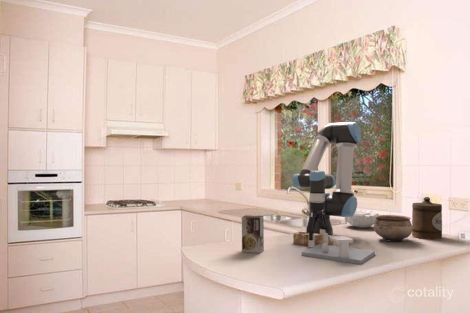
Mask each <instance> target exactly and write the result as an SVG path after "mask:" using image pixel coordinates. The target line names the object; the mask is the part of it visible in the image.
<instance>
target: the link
mask: <svg viewBox="0 0 470 313" xmlns="http://www.w3.org/2000/svg"><path fill="white" fill-rule="evenodd" d="M314 234H315V233H314ZM330 237H334V235H333V234H330V235H328V245H331V246H334V241H332V240H330ZM292 241H293V244H295V245H296V244H298V245H303V246H304V245H305V246H307V245H308V246H309V233H307V232H306V231H296V232H293V240H292ZM323 243H324V235H323V234H315V246H316V245H319V244H323Z"/></svg>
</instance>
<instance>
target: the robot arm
mask: <svg viewBox="0 0 470 313" xmlns="http://www.w3.org/2000/svg"><path fill="white" fill-rule="evenodd" d="M361 132H362V131H361V128H360V125H359V124H358V123H357V122H356V121H355V122H354V121H348V122H347V121H346V122H331V123H327V124H326V125H324V126H323V127H322V128H321V129H320V130H319V131H318V132H317V133H316V134H315V136H314V138H313V144H312V147H311V149H310V151H309V153H308V154H307V157H306V159H305V160H304V161H305V162H304V164H303V165H302V167H301V170H300V172H299V173H295V174H293V176H292V179H291V182H292V186H294V187H295V188H297V189H299V188H300V189H309V198H308V212H309V213H308V221H307V226H306V229H305V232H307V233H309V245H308V248H312V247H314V246H315V234H323V235H324V233H328V235H333V234H334V229H333V226H332V222H331V220H330V218H331V217H341V218H345V217H352V216H353V215H354V213H355V212H356V211H357V208H358V198H357V197H356V196H355V193H354V192H353V191H352V187H353V186H352V184H353V182H352V181H353V168H354V167H353V166H354V151H355V150H354V149H355V148H356V147H357V146H358V143H360V142H361V140H362V133H361ZM331 144H335V146H336V147H337V148H338V149H337V160H336V161H337V162H336V163H337V164H336V176H334V175H332V174H329V173H326V172H325V171H324V170H318V167H319V165H320V163H321V161H322V159H323V156H324V154H325V152H326V149H327V148H329V147H330V145H331ZM334 187H335V188H334ZM332 188H334V190H333V191H332V194H331V193H330V192H326V190H330V189H332ZM314 233H315V234H314Z"/></svg>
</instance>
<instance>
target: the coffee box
mask: <svg viewBox="0 0 470 313" xmlns="http://www.w3.org/2000/svg"><path fill="white" fill-rule="evenodd" d="M264 226H265V225H264V215H251V214H250V215H249V214H247V215H246V214H245V215H244V216H241V253H242V252H243V253H256V254H257V253H258V254H261V253H263V252H264V251H265V244H264V243H265V242H264V240H265V239H264V234H265V233H264V232H265V231H264Z"/></svg>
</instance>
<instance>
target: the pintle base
mask: <svg viewBox="0 0 470 313" xmlns="http://www.w3.org/2000/svg"><path fill="white" fill-rule="evenodd" d="M330 240H332V241H333V243H334V242H335V243H337V244H338V246H336V245H333V246H331V245H328V233H324V243H323V244H319V245H316V246H314V247H309V248H307V249H306V250H303V251H301V256H303V257H311V258H317V259H325V260H331V261H336V262H337V261H338V262H345V263H351V264H357V265H362V264H363V263H365V262H367V261H368V260H369V259H371V258H372V257H373V256H375V254H376V251H375V250H369V249H368V250H367V249H361V248H353V247H349V246H350V245H349V244H350V243H351V244H352V243H354V239H352V238H350V237H349V236H345V235H343V236H342V235H340V236H339V235H338V236H337V235H336V236H334V235H333V237H330Z"/></svg>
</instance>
